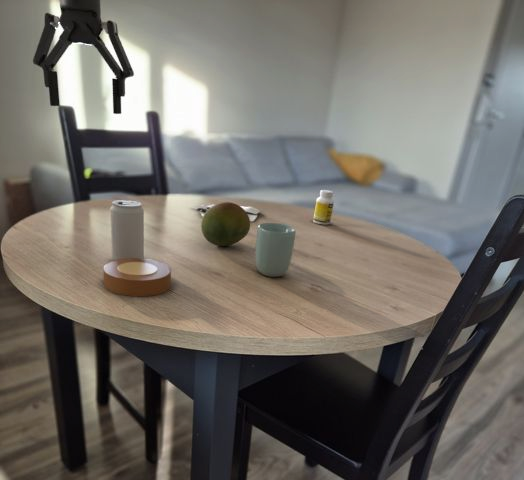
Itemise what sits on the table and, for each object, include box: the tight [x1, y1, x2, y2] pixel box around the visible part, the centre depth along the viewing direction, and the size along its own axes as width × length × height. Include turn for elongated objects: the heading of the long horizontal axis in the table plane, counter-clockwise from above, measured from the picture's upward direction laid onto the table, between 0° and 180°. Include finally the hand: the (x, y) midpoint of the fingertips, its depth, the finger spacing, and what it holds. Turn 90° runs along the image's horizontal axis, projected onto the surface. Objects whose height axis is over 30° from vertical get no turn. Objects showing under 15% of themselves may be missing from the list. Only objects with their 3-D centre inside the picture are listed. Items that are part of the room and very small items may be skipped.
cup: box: [254, 222, 296, 278], centre depth 101 cm, size 8×8×10 cm
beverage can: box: [109, 199, 145, 261], centre depth 98 cm, size 6×6×12 cm
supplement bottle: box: [312, 189, 335, 226], centre depth 150 cm, size 5×5×10 cm
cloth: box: [193, 203, 261, 222], centre depth 149 cm, size 20×22×2 cm
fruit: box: [200, 201, 251, 247], centre depth 116 cm, size 12×12×10 cm
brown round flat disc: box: [102, 258, 172, 297], centre depth 89 cm, size 12×12×3 cm
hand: (86, 109), depth 103 cm, fingers open, 13 cm apart
